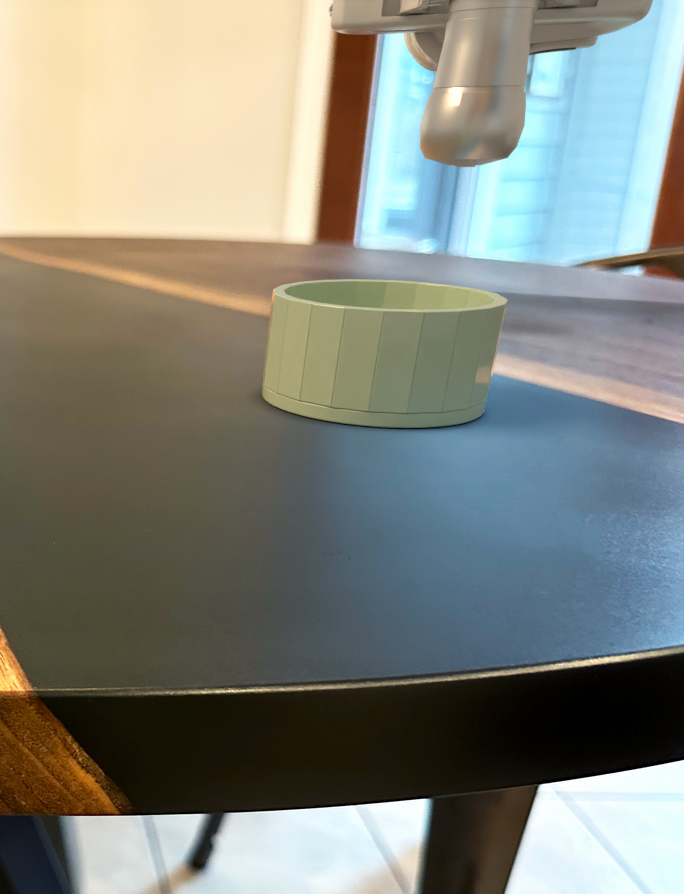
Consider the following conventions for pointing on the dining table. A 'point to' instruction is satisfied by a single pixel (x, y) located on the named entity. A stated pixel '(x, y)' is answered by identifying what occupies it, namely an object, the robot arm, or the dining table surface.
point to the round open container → (382, 351)
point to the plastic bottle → (479, 83)
